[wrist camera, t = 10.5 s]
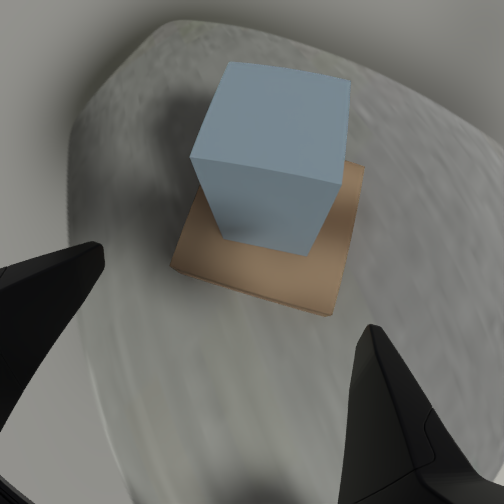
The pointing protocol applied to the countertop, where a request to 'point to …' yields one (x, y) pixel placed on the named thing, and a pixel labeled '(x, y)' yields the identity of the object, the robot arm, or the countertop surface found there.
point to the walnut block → (273, 255)
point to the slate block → (273, 154)
